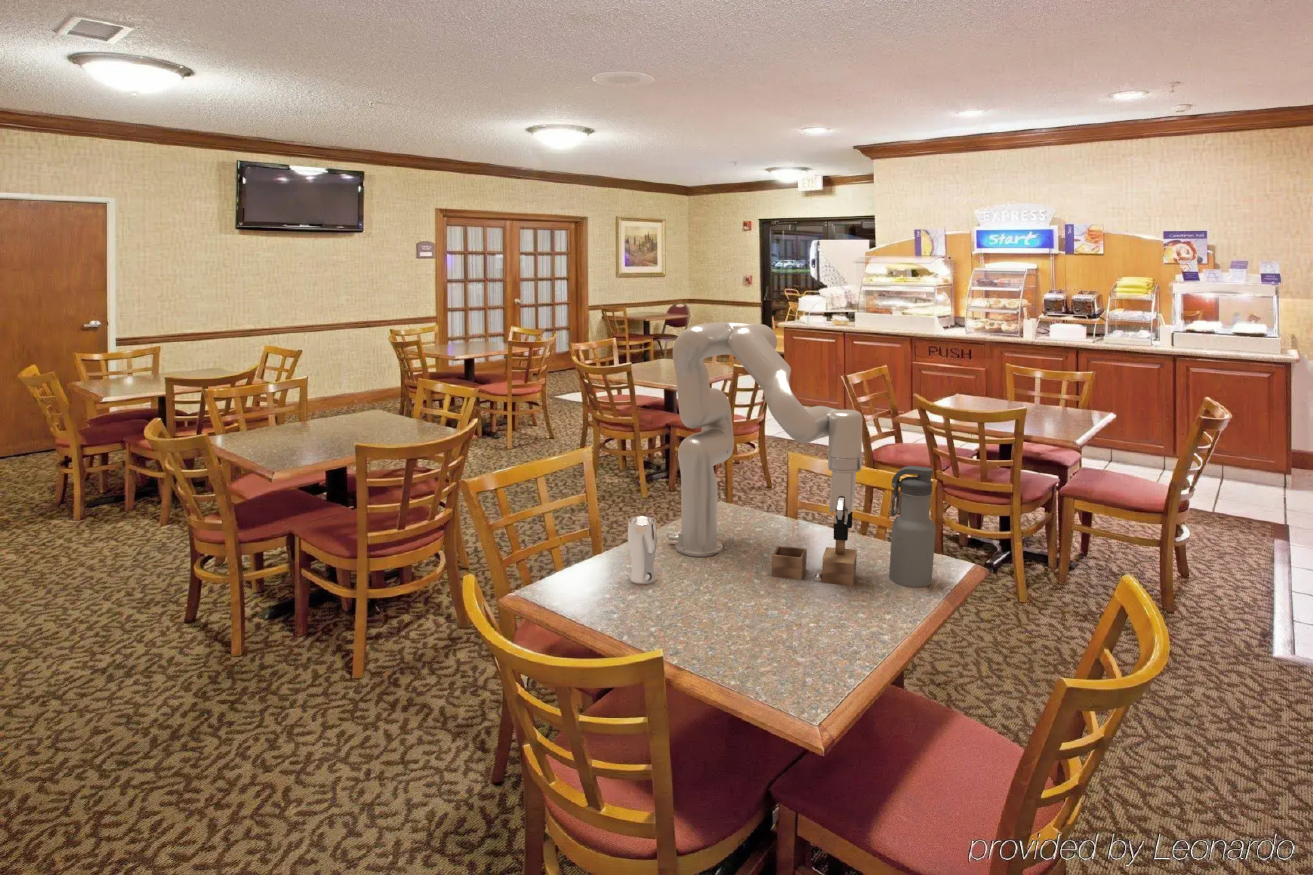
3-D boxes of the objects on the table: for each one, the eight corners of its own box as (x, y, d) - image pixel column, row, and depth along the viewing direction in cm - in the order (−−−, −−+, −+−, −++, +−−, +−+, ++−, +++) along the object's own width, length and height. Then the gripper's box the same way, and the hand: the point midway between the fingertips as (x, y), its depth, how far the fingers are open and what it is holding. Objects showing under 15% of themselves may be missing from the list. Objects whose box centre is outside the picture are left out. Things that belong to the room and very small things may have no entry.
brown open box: (771, 578, 193) (772, 555, 192) (777, 568, 200) (777, 545, 199) (801, 582, 191) (802, 558, 190) (805, 571, 197) (806, 548, 196)
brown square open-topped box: (821, 584, 189) (822, 560, 188) (825, 574, 196) (826, 550, 195) (852, 588, 187) (853, 564, 186) (855, 577, 194) (856, 554, 192)
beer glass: (623, 582, 191) (622, 522, 188) (637, 572, 197) (636, 514, 194) (648, 587, 188) (648, 526, 185) (662, 577, 194) (661, 518, 191)
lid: (822, 560, 188) (823, 534, 187) (826, 550, 195) (827, 524, 193) (853, 564, 186) (855, 537, 184) (856, 553, 193) (857, 527, 191)
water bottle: (883, 584, 189) (889, 470, 183) (891, 571, 198) (898, 461, 192) (927, 592, 184) (935, 475, 179) (934, 578, 193) (942, 466, 187)
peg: (812, 583, 190) (820, 585, 190) (814, 576, 190) (822, 578, 189) (815, 576, 195) (823, 578, 194) (817, 568, 194) (825, 570, 194)
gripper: (832, 454, 195) (831, 521, 198) (823, 470, 179) (822, 543, 182) (864, 456, 192) (862, 524, 196) (857, 472, 176) (855, 546, 180)
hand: (842, 533), depth 189 cm, fingers open, 9 cm apart
